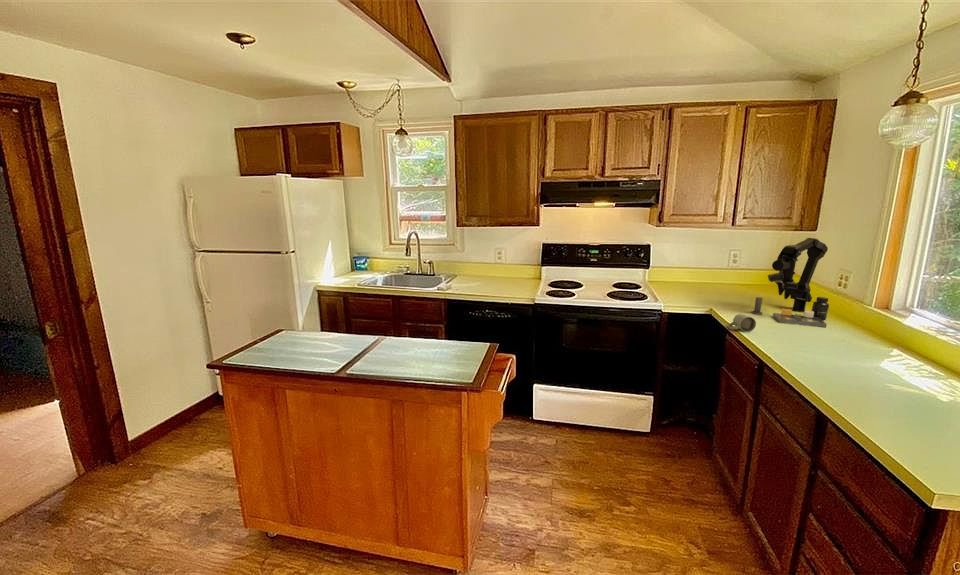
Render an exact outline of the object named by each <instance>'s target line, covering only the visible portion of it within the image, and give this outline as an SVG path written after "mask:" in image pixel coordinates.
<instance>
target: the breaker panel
mask: <svg viewBox="0 0 960 575" xmlns="http://www.w3.org/2000/svg"><path fill="white" fill-rule="evenodd" d="M772 318H774V319H775V320H776V321H777V322H779V324H786V323H788V324H789V325H796V324H799V326H806V325H809V326H808V327H816V326H817V327H819V328H827V323H826V322H825V321H822V320H821V319H819V318H818V317H813V318H811V317H804V315H800V314H798V313H794V314H791V316H790V315H782V313H779V312H773V314H772Z"/></svg>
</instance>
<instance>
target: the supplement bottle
mask: <svg viewBox="0 0 960 575" xmlns="http://www.w3.org/2000/svg"><path fill="white" fill-rule="evenodd" d="M829 309H830V304H829V298H828V297H826V296H816V300H815V301H813V304H812V308H811V311H813V312H814V316H813V317H818V318H819V319H821V320H822V321H824V320H825V321H826V320H827V317H828V312H829ZM825 321H824V322H825Z"/></svg>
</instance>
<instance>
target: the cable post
mask: <svg viewBox="0 0 960 575" xmlns="http://www.w3.org/2000/svg"><path fill="white" fill-rule="evenodd" d="M763 300H764V299H763V298H762V297H759V296H756V298H755V302H754V309H753V310H751V312H750V313H751V314H752V315H758V316H761V315H762V316H763V312H761V309H762V303H763Z"/></svg>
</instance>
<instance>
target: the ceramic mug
mask: <svg viewBox="0 0 960 575" xmlns="http://www.w3.org/2000/svg"><path fill="white" fill-rule="evenodd" d="M756 326H757V322H756V319H755V318H754V317H752V316H749V315H746V314H745V313H738V314H736V315H735V316H734V317H733V319H732V322H730V323H728V325H727V327H728V329H729V330H731V331H732V330H741V331H742V332H744V333H749V332H752V331H754V330H755V328H756Z"/></svg>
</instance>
